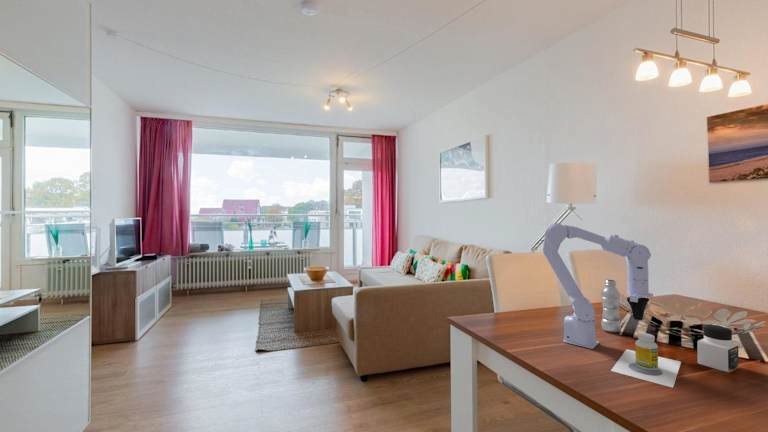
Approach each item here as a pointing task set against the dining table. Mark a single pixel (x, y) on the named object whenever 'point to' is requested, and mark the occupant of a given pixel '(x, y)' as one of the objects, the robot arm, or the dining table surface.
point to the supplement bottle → (646, 352)
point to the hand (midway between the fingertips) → (638, 319)
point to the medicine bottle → (718, 348)
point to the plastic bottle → (610, 307)
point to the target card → (660, 376)
